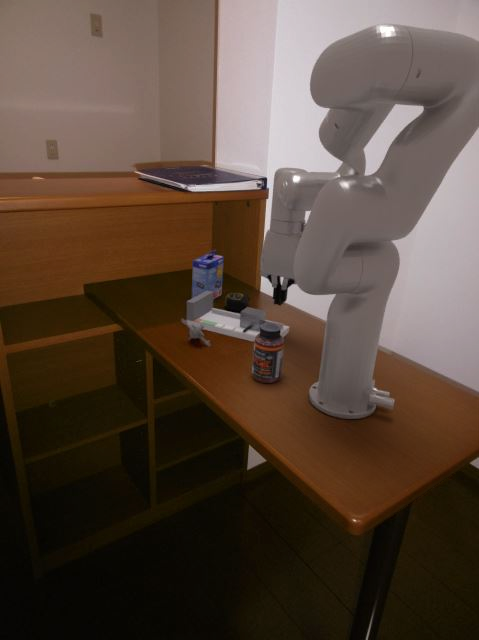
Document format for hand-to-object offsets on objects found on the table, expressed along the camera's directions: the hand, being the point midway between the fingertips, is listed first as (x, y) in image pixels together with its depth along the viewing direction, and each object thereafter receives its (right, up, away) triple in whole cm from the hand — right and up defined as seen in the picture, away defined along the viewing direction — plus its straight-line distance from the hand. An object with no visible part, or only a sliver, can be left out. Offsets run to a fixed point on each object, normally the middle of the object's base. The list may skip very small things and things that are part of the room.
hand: (279, 302), depth 109 cm
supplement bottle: (-4, -16, -15) cm, 22 cm away
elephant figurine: (-20, -9, -1) cm, 22 cm away
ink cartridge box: (-19, +2, +28) cm, 34 cm away
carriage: (-7, -6, +4) cm, 10 cm away
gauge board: (-10, -6, +7) cm, 14 cm away
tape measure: (-10, -1, +21) cm, 23 cm away
